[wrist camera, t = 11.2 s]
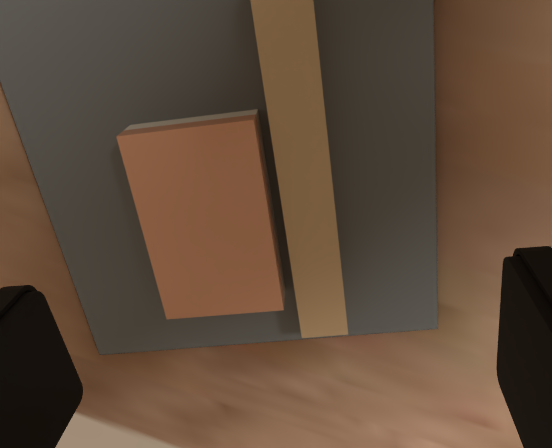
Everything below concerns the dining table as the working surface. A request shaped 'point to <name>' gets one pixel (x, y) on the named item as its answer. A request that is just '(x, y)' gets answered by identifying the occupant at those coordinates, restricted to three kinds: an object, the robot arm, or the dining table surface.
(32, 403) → the robot arm
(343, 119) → the mat
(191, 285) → the tile
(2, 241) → the dining table surface
